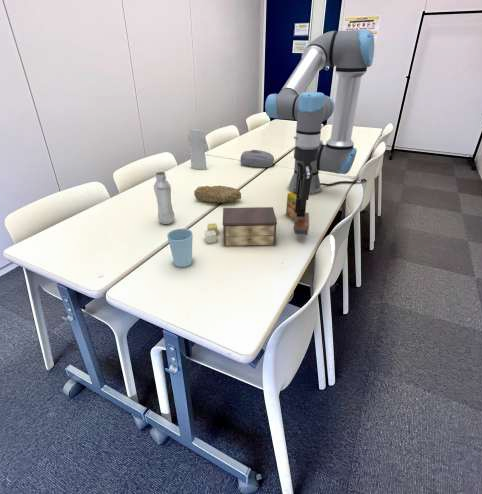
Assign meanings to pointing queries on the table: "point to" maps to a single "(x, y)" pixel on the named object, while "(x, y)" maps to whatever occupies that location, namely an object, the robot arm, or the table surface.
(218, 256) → the table surface
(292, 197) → the crayon box
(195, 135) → the tall pale column
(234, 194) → the sponge
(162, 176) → the plastic bottle
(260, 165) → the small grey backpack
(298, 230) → the brush
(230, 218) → the cabinet
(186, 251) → the cup
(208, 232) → the white faceted lump
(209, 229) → the paper ball yellow
